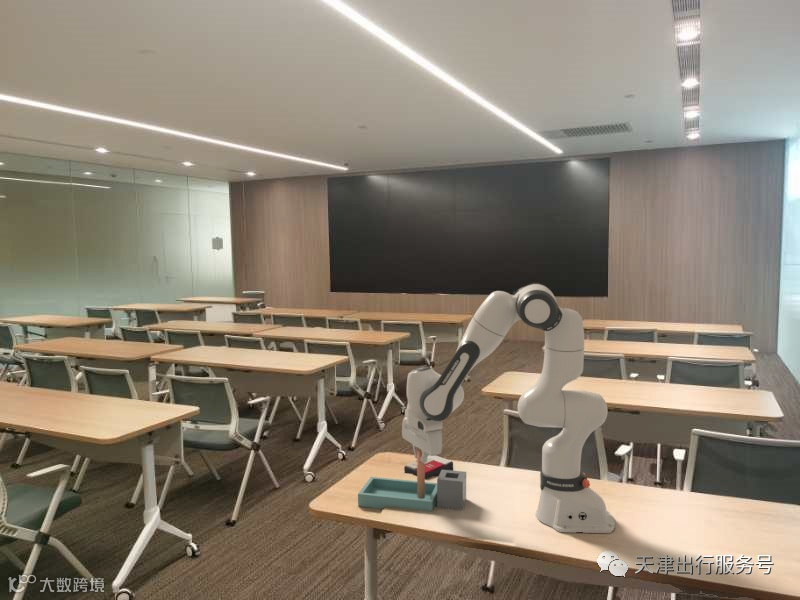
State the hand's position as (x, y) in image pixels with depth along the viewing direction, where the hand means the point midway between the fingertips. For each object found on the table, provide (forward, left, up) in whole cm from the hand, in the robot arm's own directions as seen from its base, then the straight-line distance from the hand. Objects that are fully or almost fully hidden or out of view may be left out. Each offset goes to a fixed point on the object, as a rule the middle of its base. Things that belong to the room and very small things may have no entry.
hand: (420, 460), depth 176 cm
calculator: (+3, -26, -15) cm, 30 cm away
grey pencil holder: (-10, 0, -14) cm, 17 cm away
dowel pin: (0, 0, -12) cm, 12 cm away
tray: (+7, 0, -14) cm, 16 cm away
